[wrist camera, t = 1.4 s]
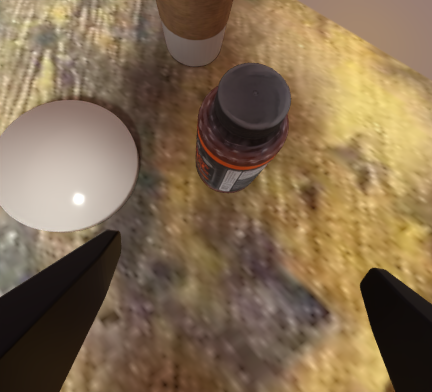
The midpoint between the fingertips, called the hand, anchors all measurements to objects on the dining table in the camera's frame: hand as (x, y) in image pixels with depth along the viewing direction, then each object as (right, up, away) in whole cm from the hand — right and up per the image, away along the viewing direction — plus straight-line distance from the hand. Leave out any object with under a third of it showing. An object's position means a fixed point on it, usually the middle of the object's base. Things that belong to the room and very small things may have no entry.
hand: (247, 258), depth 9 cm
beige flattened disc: (-14, +5, +14) cm, 20 cm away
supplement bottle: (0, +5, +15) cm, 16 cm away
